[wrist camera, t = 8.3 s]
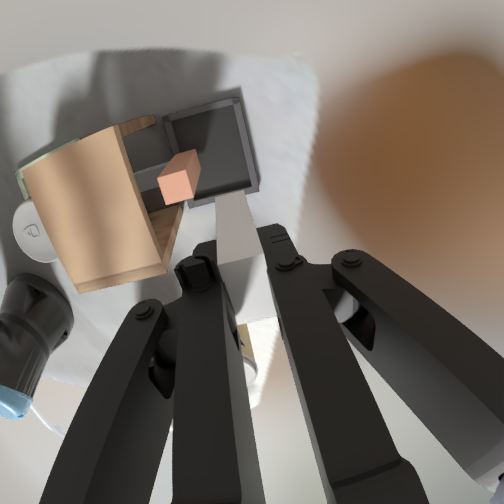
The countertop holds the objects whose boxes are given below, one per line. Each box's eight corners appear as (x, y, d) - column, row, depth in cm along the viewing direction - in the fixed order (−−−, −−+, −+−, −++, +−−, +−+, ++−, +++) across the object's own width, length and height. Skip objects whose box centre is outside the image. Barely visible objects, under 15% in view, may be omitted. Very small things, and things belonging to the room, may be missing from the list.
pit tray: (190, 205, 37) (189, 208, 36) (164, 116, 31) (162, 117, 30) (258, 188, 37) (259, 191, 36) (237, 96, 31) (238, 96, 30)
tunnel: (116, 231, 38) (79, 294, 25) (83, 141, 31) (21, 171, 18) (183, 212, 37) (166, 273, 25) (153, 114, 31) (112, 125, 18)
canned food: (45, 186, 33) (2, 218, 23) (85, 160, 32) (43, 186, 23) (70, 231, 37) (35, 272, 27) (110, 208, 36) (78, 248, 26)
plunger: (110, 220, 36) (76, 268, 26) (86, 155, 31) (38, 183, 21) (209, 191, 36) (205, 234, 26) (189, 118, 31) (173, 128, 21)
